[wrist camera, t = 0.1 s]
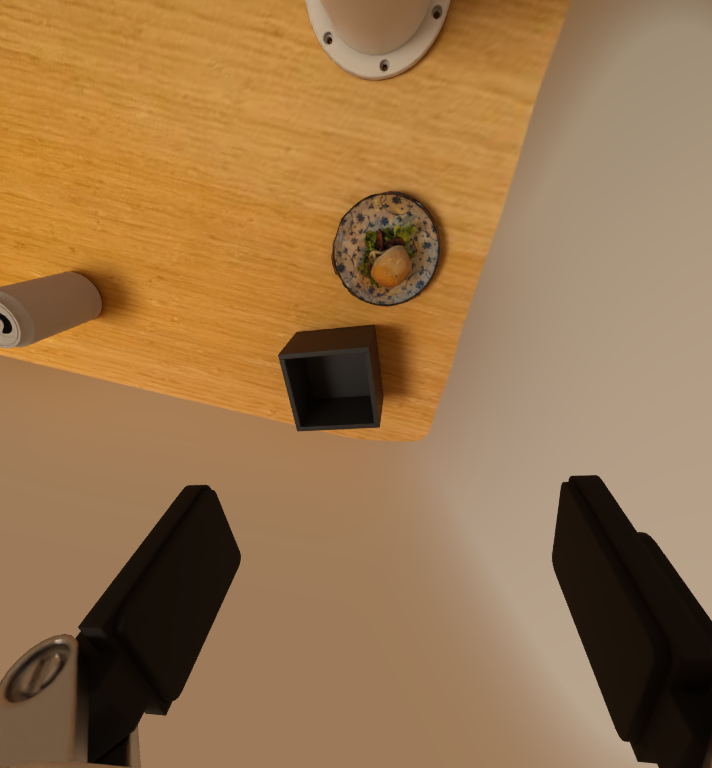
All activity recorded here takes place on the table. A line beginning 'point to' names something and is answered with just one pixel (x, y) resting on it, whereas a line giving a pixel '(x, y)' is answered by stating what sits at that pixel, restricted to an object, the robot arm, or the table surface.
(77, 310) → the beverage can
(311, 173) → the table surface
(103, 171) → the table surface
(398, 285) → the burger on plate
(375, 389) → the bin
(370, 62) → the robot arm
